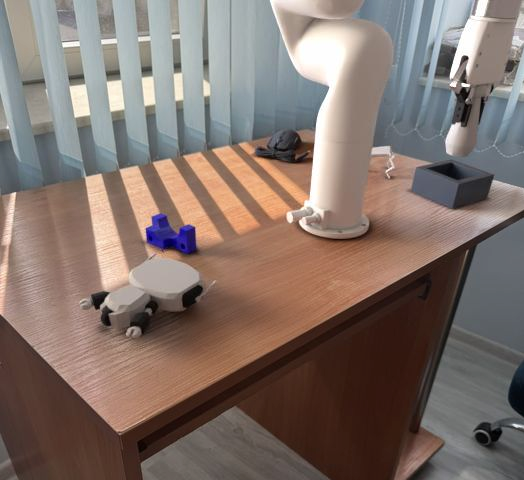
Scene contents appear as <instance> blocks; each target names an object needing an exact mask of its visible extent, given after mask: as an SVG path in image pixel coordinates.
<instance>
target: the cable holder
mask: <svg viewBox="0 0 524 480" xmlns="http://www.w3.org/2000/svg"><path fill="white" fill-rule="evenodd" d="M144 230H145V237H146V243H147V244H150V245H153V246H155V247H156V248H159V249H161V250H166V249H169V248H173V249H174V250H176V251H179V252H181V253H184V254H186V255H189V254H191V253H193V252H195V251H197V235H196V234H197V233H196V226H194V225H191V224H189V223H188V224H186V225H184V226H181V227H179V232H176V231H175V230H173V228H172V226H171V225H170V222H169V220H168V216H167V214H164V213H162V212H160V213H158V214H155V215H152V216H151V225H150V226H147V227H145V229H144Z"/></svg>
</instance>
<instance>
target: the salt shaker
mask: <svg viewBox="0 0 524 480" xmlns="http://www.w3.org/2000/svg"><path fill="white" fill-rule="evenodd" d="M466 83H467V82H466ZM465 89H466V91H467V93H468V89H469V88H466V87H465ZM486 91H487V85H486V84H483V85H476V88H475V91H474V94H473V97H472V100H471V103H470V104H472V109H471V112H470V116H469V120H468V123H467V126H466V127H461V122H460V123H456V124H455V125H454V124H452V123H451V126H450V128H449V130H448V133H447V135H446V138H445V151H446V154H448V155H449V156H451V157H458V158H465V157H469V155H470V154H471V153H472V151H473V150H474V149H475V147H476V145H477V139H478V130H479V125H478V122H479V112H480V103H481V97H483V96H485V94H486Z"/></svg>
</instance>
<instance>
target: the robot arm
mask: <svg viewBox="0 0 524 480" xmlns="http://www.w3.org/2000/svg"><path fill="white" fill-rule="evenodd" d="M269 2H270V5H271V9H272V11H273V15H274V17H275V20H276V23H277V26H278V28H279V31H280V35H281V37H282V40H283V42H284V45H285V48H286V51H287V53H288V56H289V58H290V60H291V63H292V65H293V67H294V69H295V70H296V71H297V72H298V74H299V75H300V76H302V77H303V78H305V79H307V80H309V81H311V82H315V83H318V84H319V85H324V86H326V87H329V88H328V91H327V93H326V96H325V98H324V100H323V102H322V103H321V105H320V108H319V110H318V112H317V113H318V114H317V118H316V124H315V136H314V147H313V158H312V168H311V179H310V181H311V182H310V190H309V191H310V192H309V199H305V200H304V204H303V206H301V208H300V209H294V210H291V211H288V212H287V213H286V221H287V222H288V223H289V224H293V223H299V226H300V227H301V228H302V229H303V230H305V231H306V232H308V233H309V234H312V235H314V236H317V237H321V238H325V239H333V240H334V239H335V240H346V239H352V238H357V237H361V236H362V235H364V234H365V233H367V231H368V230H369V227H370V220H369V217H368V216H367V215H366V214H364V213H363V210H364V204H365V198H366V197H365V196H366V190H367V185H368V184H367V183H368V177H369V171H370V165H371V158H372V157H371V153H372V148H374V141H375V133H376V126H377V120H378V115H379V110H380V106H381V102H382V98H383V95H384V92H385V89H386V86H387V84H388V80H389V77H390V74H391V71H392V68H393V63H394V58H395V51H394V50H395V48H394V43H393V40H392V37H391V35H390V33H389V32H388V31H387V30H386V29H385V28H384V27H383V26H381V24H379V23H377V22H374V21H372V20H368V19H363V18H358V17H353V15H355V14H356V13H358V12H359V10H360V9H361V8H362V7H363V5H364V3H365V2H366V1H365V0H269ZM522 5H523V0H474V2H473V6H472V11H471V15H470V18H468V19H467V21H466V23H465V26H464V28H463V30H462V33H461V36H460V39H459V42H458V43H457V44H458V45H457V48H456V51H455V55H454V58H453V62H452V66H451V68H450V73H449V80H450V81H451V82H450V85H449V88H450V90H452V92H453V93H454V95H455V98H454V101H455V106H454V110H453V114H452V119H451V125H452V124H454V125H455V124H456V123H460V122H461V127H466V126H467V123H468V120H469V116H470V112H471V109H472V104H470V103H471V100H472V97H473V94H474V91H475V88H476V85H483V84H486V85H487V91H486V94H485V96H483V97H481V103H480V112H479V122H478V126H479V125H480V124H481V120H482V116H483V113H484V110H485V105H486V103H487V102H488V101H489V98H490V95H491V94H492V93H493V91H494V90H495V89H496V88H498V87H499V85H500V84H501V82H502V81H501V80H502V79H503V77H504V73H505V71H506V67H507V65H508V62H509V61H508V60H509V57H510V53H511V50H512V45H513V39H514V34H515V30H516V23H517V21H518V17H519V15H520V11H521V7H522ZM466 82H467V83H466ZM465 87H466V88H469V89H468V93H467V91H466V89H465Z"/></svg>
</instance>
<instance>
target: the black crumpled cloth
mask: <svg viewBox="0 0 524 480" xmlns="http://www.w3.org/2000/svg"><path fill="white" fill-rule="evenodd" d="M302 143H303V141H302V138H301V136H300V134H299V133H298V132H297V131H296V130H293V129H289V128H284V129H281V130H279V131H277V132H276V133H274V134H273V135H272V136H271V137H270V138H269V140H268V142H267V144H266V147H264V146H261V145H259V146H256V148H255V150H254V151H253V155H254V156H257V157H261V158H262V157H263V158H273V159H279V160H280V161H284V162H287V163H288V162H289V163H297V162H298V163H299V162H300V161H302V160H303V159H305V158H306V157H307V156H309V155H310V153H311V152H312V151H311V150H307V151H306V152H305V151H304V152H303V153H302V154H300V155H299V156H298V157H296V156H297V153H296V152H295V149H296V148H299V147H301V145H302Z"/></svg>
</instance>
